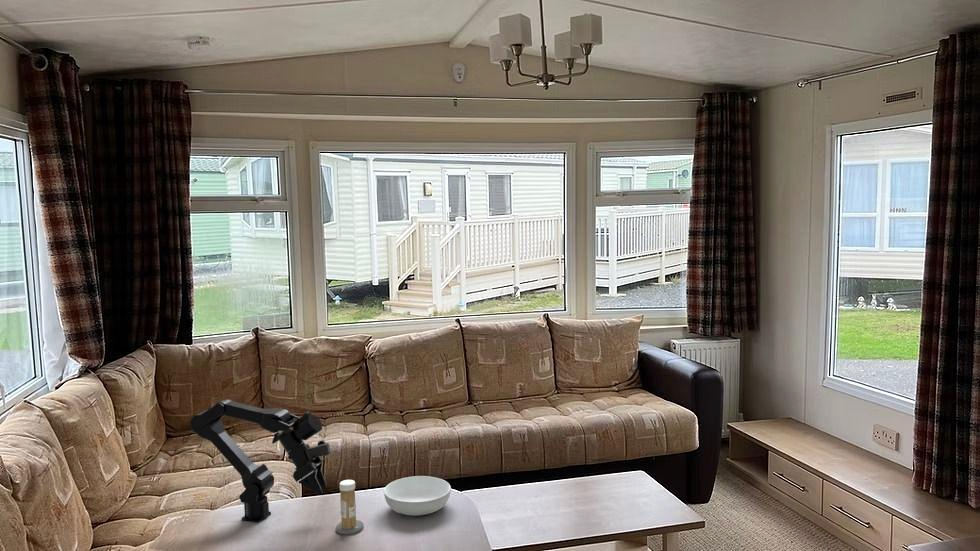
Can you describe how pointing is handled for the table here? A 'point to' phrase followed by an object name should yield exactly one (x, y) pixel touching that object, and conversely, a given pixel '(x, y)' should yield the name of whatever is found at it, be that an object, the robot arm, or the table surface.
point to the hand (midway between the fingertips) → (323, 491)
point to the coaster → (351, 531)
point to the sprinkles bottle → (348, 504)
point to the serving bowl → (417, 495)
